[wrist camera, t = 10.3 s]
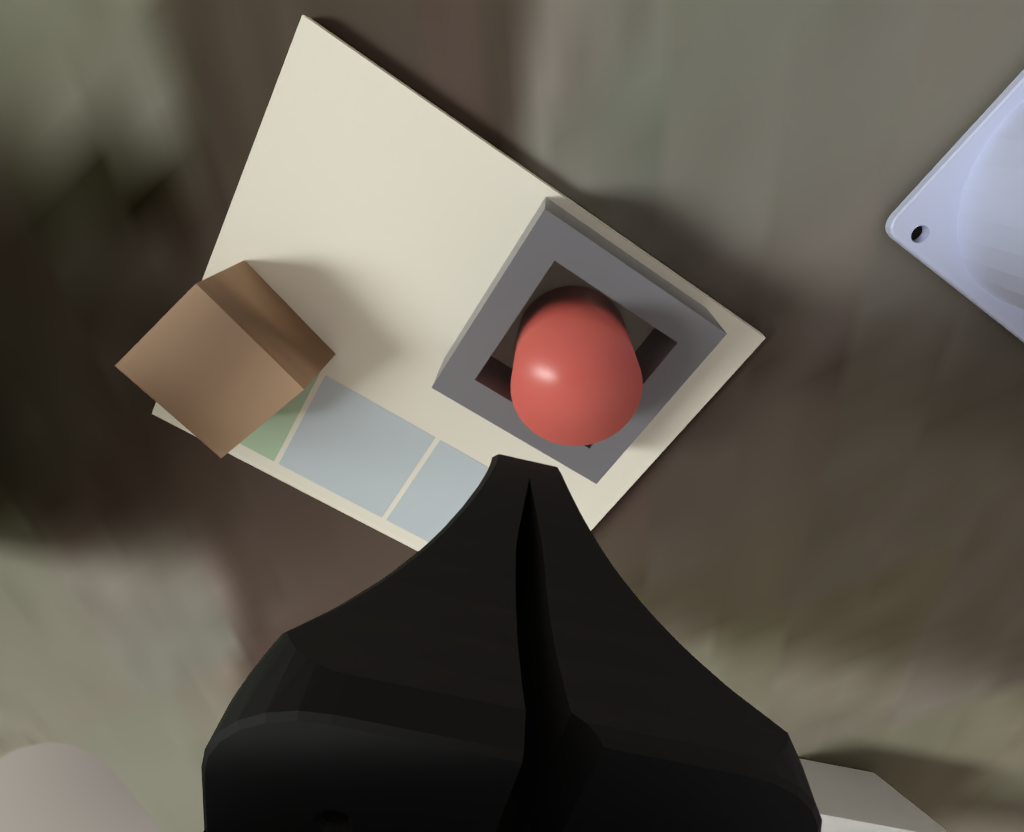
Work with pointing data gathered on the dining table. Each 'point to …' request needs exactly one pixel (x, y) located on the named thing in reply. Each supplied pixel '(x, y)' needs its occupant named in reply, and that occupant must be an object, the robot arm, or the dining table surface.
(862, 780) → the figurine
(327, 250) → the board
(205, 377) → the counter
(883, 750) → the dining table surface
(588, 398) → the dome button
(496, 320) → the dome collar
